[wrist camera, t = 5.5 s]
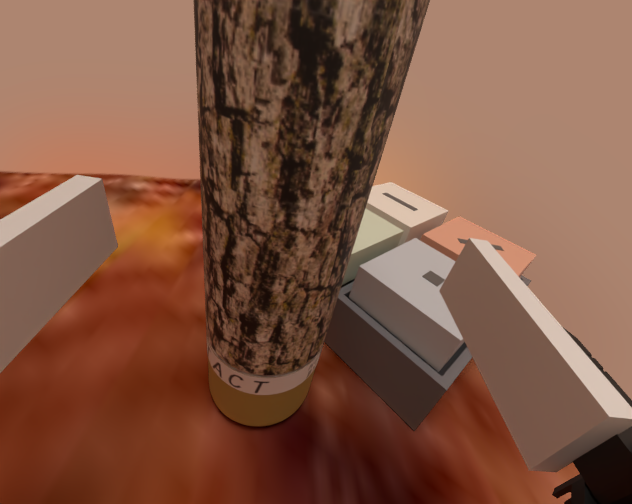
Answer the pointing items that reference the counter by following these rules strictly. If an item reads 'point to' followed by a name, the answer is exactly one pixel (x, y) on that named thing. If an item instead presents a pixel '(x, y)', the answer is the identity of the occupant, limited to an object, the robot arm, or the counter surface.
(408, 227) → the key cream
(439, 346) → the key slate
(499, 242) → the key terracotta
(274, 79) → the brown bark-patterned cylinder
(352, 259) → the key sage
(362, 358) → the keypad
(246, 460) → the counter surface
